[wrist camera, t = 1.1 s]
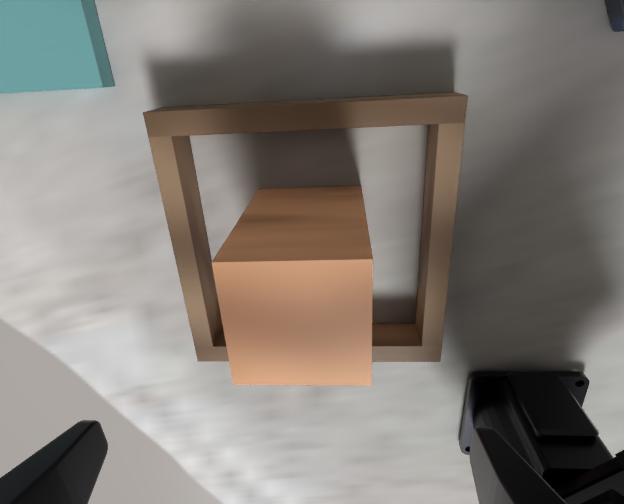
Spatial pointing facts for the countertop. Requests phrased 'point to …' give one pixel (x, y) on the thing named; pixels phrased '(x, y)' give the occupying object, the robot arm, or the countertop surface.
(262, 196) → the block
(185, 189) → the pocket frame
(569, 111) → the countertop surface
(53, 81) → the plate
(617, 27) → the box
